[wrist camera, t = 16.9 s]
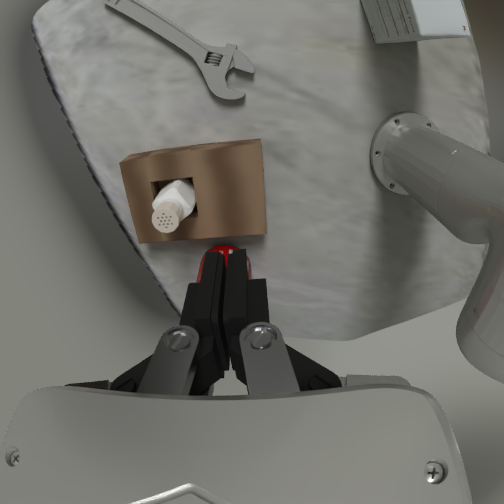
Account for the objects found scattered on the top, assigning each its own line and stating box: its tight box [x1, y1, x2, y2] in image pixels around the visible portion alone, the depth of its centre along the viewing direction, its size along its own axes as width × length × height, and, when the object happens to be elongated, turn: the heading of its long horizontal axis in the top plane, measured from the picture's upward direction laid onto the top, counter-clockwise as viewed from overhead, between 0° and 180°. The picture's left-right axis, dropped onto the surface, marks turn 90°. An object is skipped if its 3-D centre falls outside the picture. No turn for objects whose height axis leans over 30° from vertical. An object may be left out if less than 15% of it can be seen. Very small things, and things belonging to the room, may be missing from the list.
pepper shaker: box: [152, 178, 196, 233], centre depth 36 cm, size 4×4×10 cm
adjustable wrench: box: [103, 0, 254, 99], centre depth 28 cm, size 25×6×2 cm, turn 44°
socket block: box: [119, 139, 267, 244], centre depth 39 cm, size 18×12×4 cm, turn 94°
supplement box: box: [361, 0, 471, 44], centre depth 22 cm, size 7×7×13 cm
